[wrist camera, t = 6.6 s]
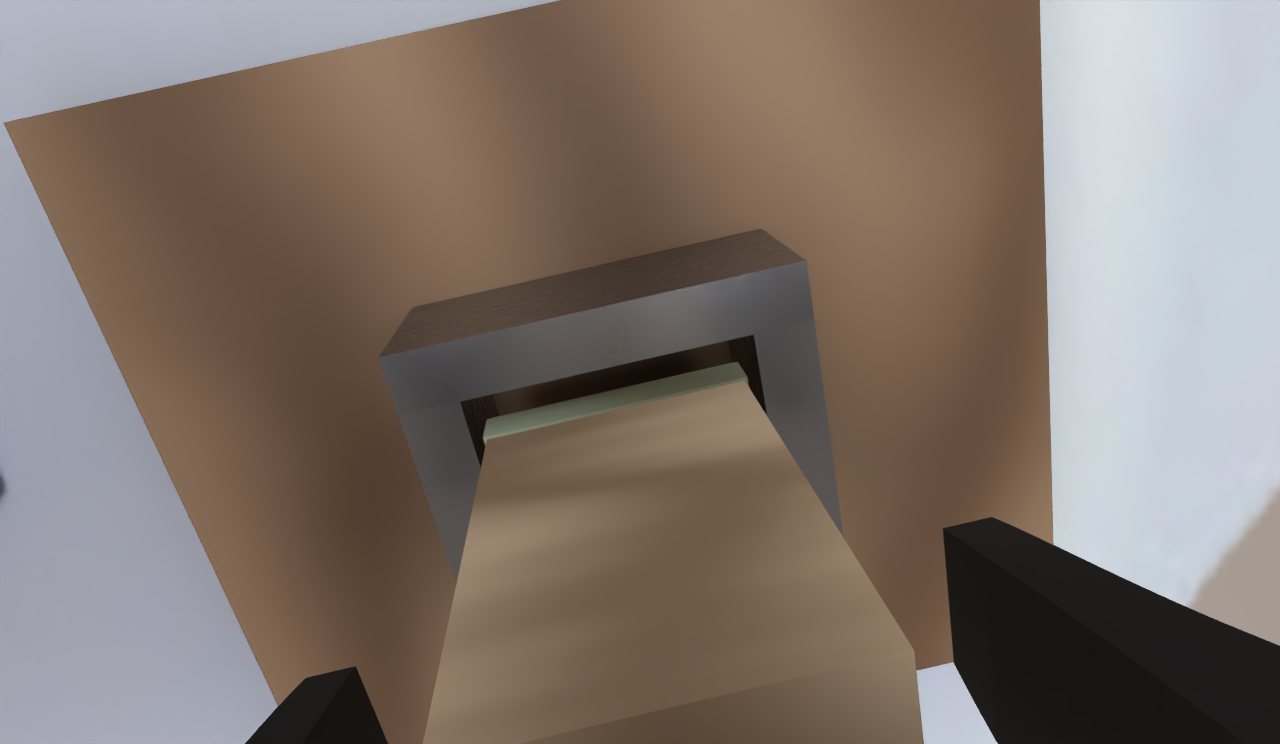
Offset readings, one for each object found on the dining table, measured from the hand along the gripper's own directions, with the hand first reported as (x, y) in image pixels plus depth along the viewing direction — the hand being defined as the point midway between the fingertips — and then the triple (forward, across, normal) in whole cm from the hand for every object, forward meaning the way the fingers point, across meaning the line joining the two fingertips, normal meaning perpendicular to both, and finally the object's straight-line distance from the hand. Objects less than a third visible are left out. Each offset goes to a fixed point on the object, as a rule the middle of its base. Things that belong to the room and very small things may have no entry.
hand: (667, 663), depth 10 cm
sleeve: (+7, 0, 0) cm, 7 cm away
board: (+8, 0, 0) cm, 8 cm away
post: (+4, 0, 0) cm, 4 cm away
